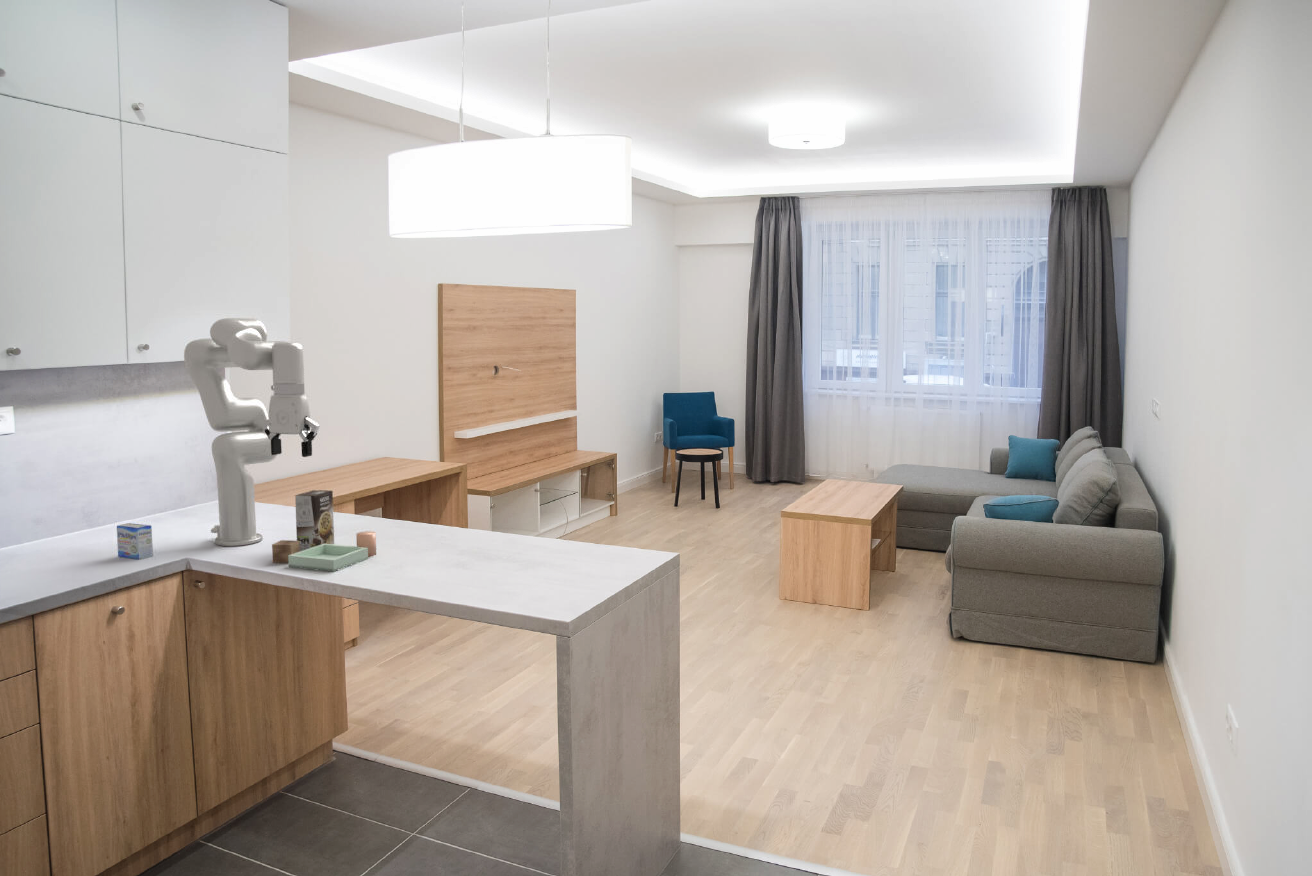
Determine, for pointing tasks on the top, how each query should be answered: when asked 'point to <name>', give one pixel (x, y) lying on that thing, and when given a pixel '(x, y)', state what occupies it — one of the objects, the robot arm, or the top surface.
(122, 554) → the medicine box
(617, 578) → the top surface
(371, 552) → the light brown rounded block
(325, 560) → the tray
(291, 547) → the walnut block
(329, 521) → the coffee box
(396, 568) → the top surface
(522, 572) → the top surface
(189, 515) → the top surface
